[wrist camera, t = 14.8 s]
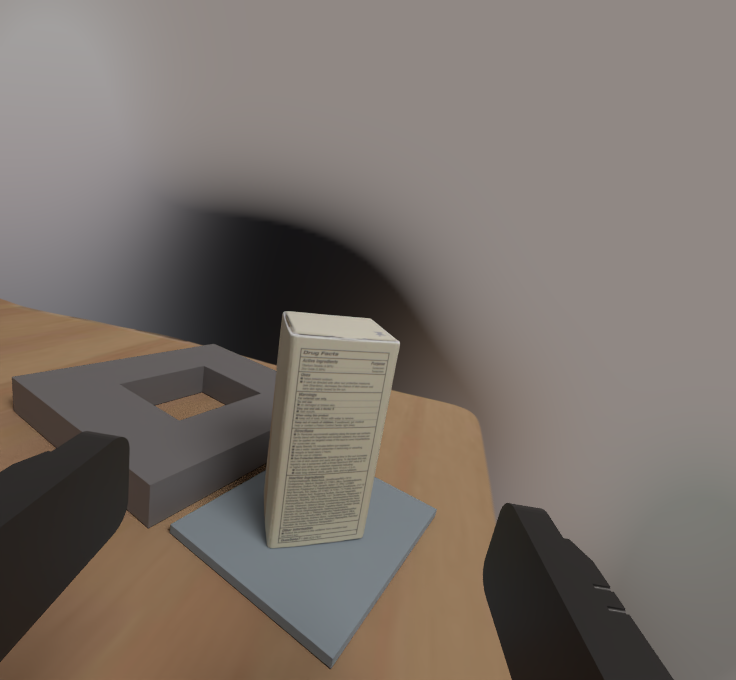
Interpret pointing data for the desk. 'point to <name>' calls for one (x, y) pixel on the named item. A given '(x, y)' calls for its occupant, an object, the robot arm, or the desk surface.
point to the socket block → (160, 420)
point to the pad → (306, 562)
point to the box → (326, 427)
